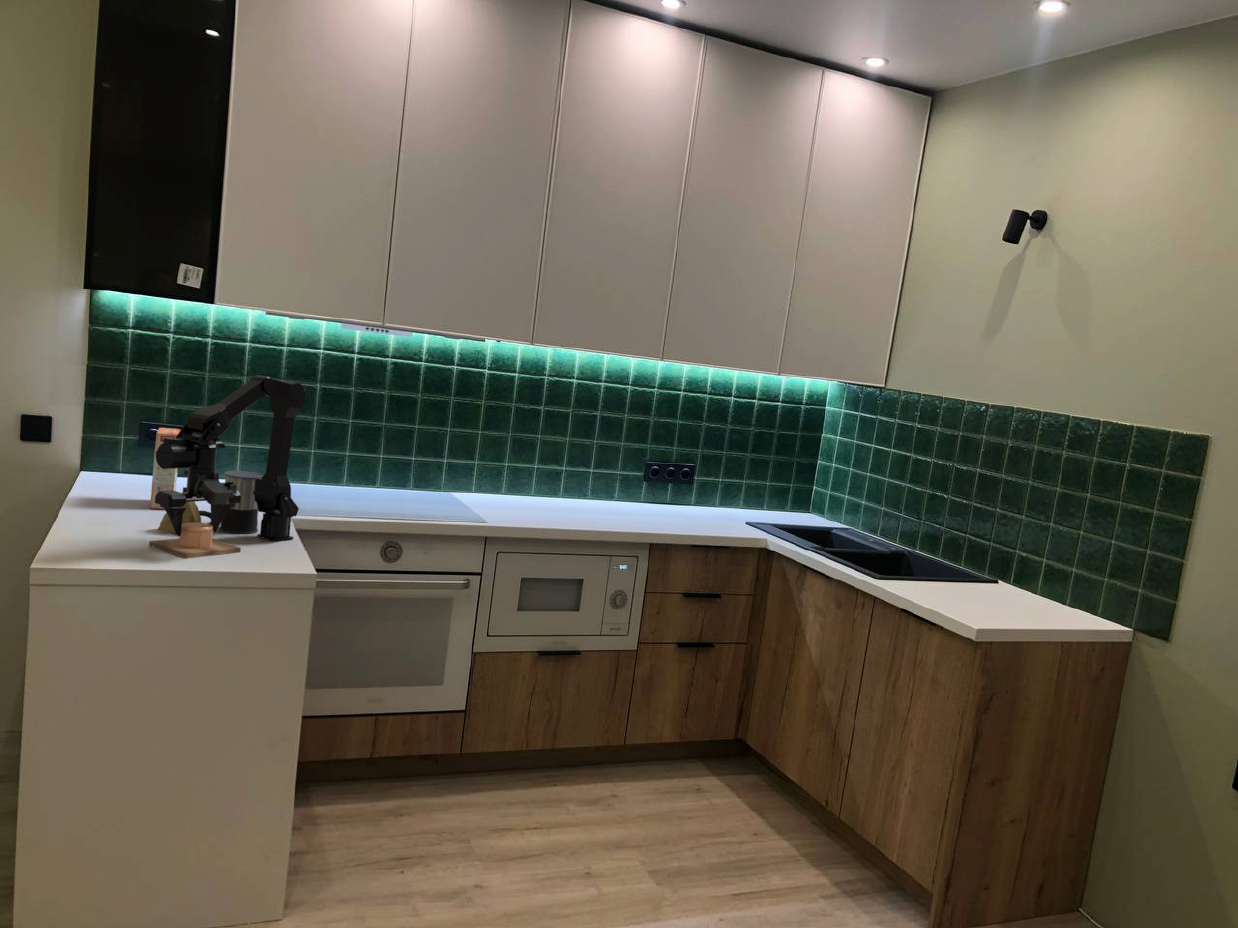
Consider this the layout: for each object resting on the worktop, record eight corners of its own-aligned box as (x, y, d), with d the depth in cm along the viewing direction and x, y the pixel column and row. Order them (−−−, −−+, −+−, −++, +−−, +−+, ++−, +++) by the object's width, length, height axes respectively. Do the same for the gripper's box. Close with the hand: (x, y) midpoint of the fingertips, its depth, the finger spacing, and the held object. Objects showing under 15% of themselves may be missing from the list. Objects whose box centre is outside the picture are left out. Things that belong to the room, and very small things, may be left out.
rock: (215, 528, 243) (204, 514, 251) (196, 501, 239) (186, 488, 246) (175, 553, 239) (165, 539, 247) (155, 527, 235) (145, 513, 242)
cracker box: (173, 510, 268) (179, 434, 266) (149, 509, 266) (154, 432, 264) (175, 501, 281) (181, 428, 279) (152, 500, 279) (158, 426, 277)
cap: (199, 540, 234) (201, 521, 233) (217, 546, 230) (218, 527, 230) (174, 542, 228) (175, 523, 228) (191, 548, 224) (193, 529, 224)
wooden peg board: (203, 539, 239) (204, 523, 238) (240, 551, 231) (241, 535, 231) (149, 545, 227) (150, 528, 226) (186, 558, 220) (187, 540, 219)
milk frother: (263, 534, 254) (268, 477, 252) (200, 535, 243) (205, 476, 242) (242, 522, 264) (246, 467, 263) (180, 523, 253) (185, 466, 252)
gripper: (186, 474, 215) (180, 544, 217) (258, 471, 231) (253, 537, 232) (156, 466, 221) (150, 534, 223) (228, 464, 237) (223, 528, 238)
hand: (196, 533), depth 229 cm, fingers open, 9 cm apart
